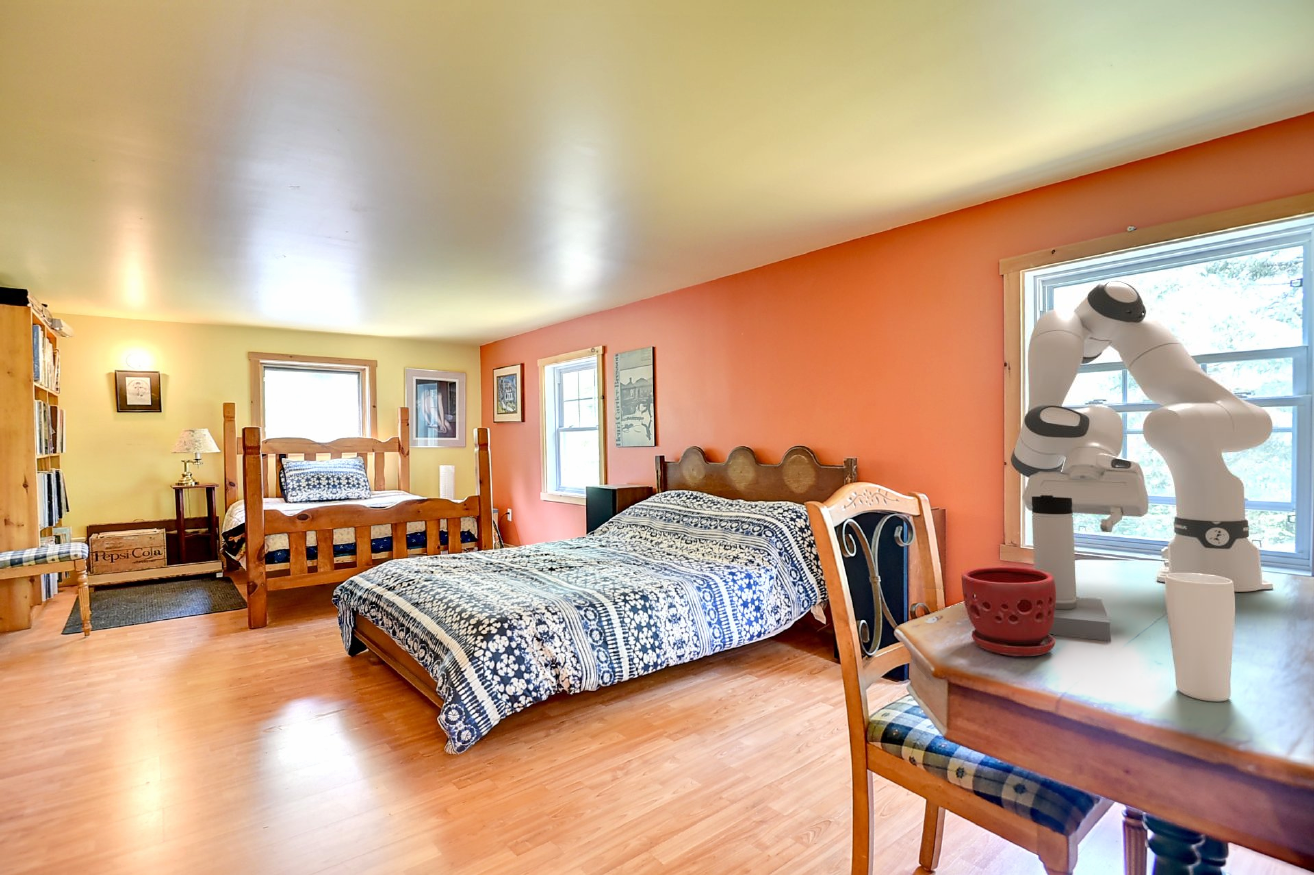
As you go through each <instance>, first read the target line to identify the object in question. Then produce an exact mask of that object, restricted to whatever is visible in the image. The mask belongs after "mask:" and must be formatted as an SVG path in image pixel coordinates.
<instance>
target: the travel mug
mask: <svg viewBox="0 0 1314 875" xmlns="http://www.w3.org/2000/svg"><path fill="white" fill-rule="evenodd" d="M1032 507H1033V508H1032V511H1031V515H1032V516H1031V523H1032V524H1031V525H1032V548H1033V549H1032V550H1033V569H1034V570H1040V571H1044V572H1047V573H1049V574H1051V575H1052V576H1053V577H1054V580H1055V587H1056V602H1055V609H1057V610H1069V609H1074V608H1076V606H1077V603H1076V597H1077V585H1076V583H1077V582H1076V580H1077V579H1076V577H1077V576H1076V560H1075V557H1076V555H1075V532H1074V531H1075V530H1074V529H1075V526H1074V517H1073V516H1074V513H1073V511H1072V498H1064V497H1053V495H1041V497H1038V496H1032Z"/></svg>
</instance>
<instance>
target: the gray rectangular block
mask: <svg viewBox="0 0 1314 875" xmlns="http://www.w3.org/2000/svg"><path fill="white" fill-rule="evenodd" d="M1019 602H1020V601H1019ZM1019 602H1018V603H1019ZM1076 603H1077V606H1076V608H1074V609H1069V610H1057V609H1055V612H1054V621H1053V625H1052V627H1051V629H1050V631H1049V633H1048V634H1049V635H1051V634H1053V635H1054V636H1063V637H1070V638H1071V637H1072V638H1078V639H1079V638H1080V639H1089V640H1090V639H1091V640H1099V641H1107V642H1108V641H1109V642H1111V641H1112V640H1111V621H1110V619H1109V616H1108V614H1107V611H1106V608H1105V605H1104V603H1103V601H1102V598H1091V597H1089V598H1088V597H1078V596H1076ZM1053 635H1052V636H1053Z"/></svg>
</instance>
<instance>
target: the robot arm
mask: <svg viewBox="0 0 1314 875" xmlns="http://www.w3.org/2000/svg"><path fill="white" fill-rule="evenodd" d="M1146 314H1147V309H1146V306H1145V305H1144V301H1143V299H1142V296H1140V293H1139V292H1138V291H1137V289H1136V288H1134V287H1133V286H1132V285H1130V284H1129V283H1126V282H1124V281H1120V280H1106V281H1103V282H1101V283H1099V284H1097V285H1096V286H1095V287H1093V289H1091V290H1090V291H1089V292H1088V294H1087V296H1086V297H1085V298H1084V299H1083V300H1082V301H1081V302H1080V303H1079V304H1078V305H1077V306H1076V308H1074V311H1073V310H1069V309H1066V308H1055V309H1051V310H1048V311H1046V312H1044V313H1043V314H1042V315H1041V316H1040V317H1039V318H1038V319H1037V321H1036V323H1035V325H1034V328H1033V329H1032V333H1031V336H1030V340H1029V345H1028V350H1027V372H1028V373H1027V375H1028V407H1027V413H1026V414H1025V416H1024V419H1023V422H1022V424H1021V428H1020V431H1019V435H1018V438H1017V441H1016V443H1015V447H1014V449H1013V451H1012V454H1011V455H1010V463H1011V465H1012V467H1013V468H1014V469H1015V471H1016V472H1018V473H1019V474H1021V475H1022V476H1024V477H1026V478H1028V479H1027V483H1026V487H1025V488H1024V491H1023V493H1022V495H1021V496H1022V497H1021V500H1022V502H1023V505H1024V506H1025V508H1026V509H1027V510H1028V511H1031V512H1032V508H1033V507H1032V496H1038V497H1041V495H1053V497H1064V498H1072V511H1073V514H1085V515H1099V516H1100V515H1101V516H1103V515H1104V516H1109V517H1107V518H1103V519H1101V521H1100V525H1099V527H1100V531H1101V532H1103V533H1112V532H1113V529H1114V528H1113V527H1114V526H1115V525H1116V524H1118V523H1119V522H1121V520H1122V519H1123V517H1135V518H1136V517H1137V518H1141V517H1143V516H1145V515H1147V514H1148V512H1149V495H1148V492H1147V488H1146V484H1145V482H1146V481H1145V475H1144V472H1143V470H1142V468H1141V465H1140V463H1139V462H1138V461H1135V460H1130V459H1126V458H1122V457H1119V455H1120V454H1121V451H1122V449H1123V444H1124V438H1125V435H1124V434H1125V427H1124V420H1123V419H1122V417H1121V415H1120V414H1119V413H1118V412H1117V411H1116V410H1115V409H1113V408H1111V407H1109V406H1106V405H1103V404H1090V405H1086V406H1084V407H1080V408H1068V407H1064V406H1063V403H1064V401H1065V399H1066V397H1067V395H1068V393H1069V392H1070V389H1071V388H1072V386H1073V383H1074V381H1075V379H1076V377H1077V375H1078V373H1079V371H1080V368H1081V366H1082V365H1086V364H1089V363H1092V362H1093V361H1095V360H1096V359H1097V358H1099V357H1100V356H1101V355H1102V354H1103V352H1104V351H1105V350H1106V349H1107V348H1108V347H1110V348H1112V349H1114V350H1115V351H1117V352H1118V355H1119V357H1120V358H1121V361H1122V362H1123V364H1124V366H1125V367H1126V369H1127V371H1128V372H1129V374H1130V376H1132V378H1133V380H1134V381H1135V382H1136V384H1137V386H1139V388H1140V389H1141V391H1142V392H1143V394H1144V395H1145V397H1146V398H1147V399H1149V400H1150V401H1151V402H1153V403H1155V404H1158V405H1160V406H1162V407H1158V408H1156V409H1154V410H1152V411H1150V412H1149V413H1148V415H1147V416H1146V417H1145V419H1144V421H1143V424H1142V434H1143V437H1144V440H1145V441H1146V443H1147V444H1148V446H1149V447H1151V448H1152V450H1155V452H1157V453H1158V454H1160V456H1161V457H1162V459H1163V460H1164V462H1165V463H1166V465H1167V466H1168V467H1167V468H1168V470H1169V471H1170V474H1171V476H1172V479H1173V484H1174V493H1175V495H1174V496H1175V505H1176V506H1175V508H1176V509H1175V510H1176V516H1174V522H1173V533H1174V534H1175V535H1174V537H1173V539H1172V540H1170V541H1169V543H1167V546H1166V547H1165V546H1164V548H1161V551H1160V552H1161V559H1162V560H1164V563H1163V565H1162V566H1161V567H1160V568H1159V571H1158V572H1157V576H1156V581H1158V582H1162V583H1165V579H1166V578H1165V577H1166V575H1167V574H1171V573H1199V574H1208V575H1215V576H1220V577H1224V578H1228V579H1230V580H1232V581H1233V587H1234V592H1242V593H1243V592H1253V591H1258V590H1272V589H1274V586H1273V583H1272V582H1270V581H1267V580H1264V579H1263V574H1262V573H1263V572H1262V564H1261V557H1260V556H1261V554H1260V548H1259V547H1258V546H1256V545H1255V544H1254V543H1252V542H1251V541H1250V540H1249V539H1248V537H1250V525H1249V520H1247V519H1246V512H1245V511H1246V505H1245V503H1246V502H1245V501H1246V500H1245V487H1244V483H1243V481H1242V480H1241V478H1240V477H1238V476H1237V475H1235V474H1233V473H1232V472H1231V471H1230V470H1229V468H1228V466H1227V465H1226V463H1225V461H1224V458H1223V454H1222V453H1224V454H1225V453H1238V452H1242V451H1246V450H1247V451H1248V450H1249V449H1253V448H1256V447H1259V446H1261V445H1263V444H1264V443H1265V442H1266V441H1268V439H1269V438H1270V437H1271V434H1272V432H1273V427H1274V426H1273V421H1272V418H1271V416H1270V415H1269V412H1267V411H1266V410H1265V409H1264V408H1263V407H1261V406H1258V405H1256V404H1253V403H1251V402H1249V401H1247V400H1244V399H1243V398H1240V397H1239V396H1238V395H1236V394H1235V393H1233V392H1232V391H1230V390H1229V389H1227V388H1226V387H1225V386H1224V385H1221V384H1220V383H1219V382H1218V381H1216V380H1215V379H1214V378H1212V377H1211V376H1210V375H1208V373H1206V372H1205V371H1204V370H1203V369H1202V367H1200V365H1199V364H1198V362H1196V360H1195V359H1194V358H1193V357H1192V356H1191V355H1190V354H1189V352H1188V350H1187V349H1186V348H1185V347H1184V346H1183V344H1182V343H1181V341H1179V340H1178V338H1176V336H1174V335H1173V334H1172V332H1171V331H1170V330H1169V329H1167V328H1166V327H1165V326H1164V325H1163V324H1161V323H1159V321H1158V320H1155V319H1153V318H1150V317H1146Z"/></svg>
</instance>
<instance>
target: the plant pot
mask: <svg viewBox="0 0 1314 875" xmlns="http://www.w3.org/2000/svg"><path fill="white" fill-rule="evenodd" d="M960 578H961V589H962V596H963V602H964V606H965V610H966V613H967V615H968V617H969V620H970V623H971V625H972V626H973V628H974V630H973V631H972V632H971V638H972V639H973V640H972V641H974V642H975V644H977V645H978V646H979V647H980V648H982V649H984V650H986V651H989V652H992V653H995V654H998V655H999V654H1000V655H1005V656H1008V657H1011V658H1014V657H1036V656H1040V655H1044V654H1046V653H1049V652H1050V651H1051V650H1052V649H1053V648H1054V647H1055V645H1056V639H1055V637H1054V636H1053V635H1051V634H1048V633H1049V631H1050V629H1051V627H1052V625H1053V621H1054V612H1055V602H1056V587H1055V580H1054V577H1053V576H1052V575H1051V574H1049V573H1047V572H1044V571H1040V570H1034V568H1027V567H1017V566H992V567H977V568H973V569H968V570H966V571H964V572H961V577H960ZM1019 601H1020V602H1019ZM1018 602H1019V603H1018Z"/></svg>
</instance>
